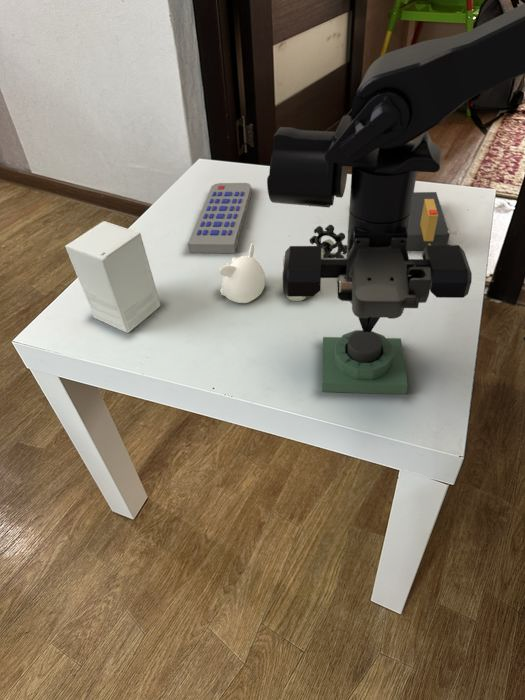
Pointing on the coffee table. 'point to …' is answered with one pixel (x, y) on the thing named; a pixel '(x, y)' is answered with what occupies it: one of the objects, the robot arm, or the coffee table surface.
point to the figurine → (242, 278)
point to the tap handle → (429, 219)
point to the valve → (325, 247)
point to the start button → (364, 346)
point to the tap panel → (414, 228)
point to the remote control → (221, 219)
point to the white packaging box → (115, 275)
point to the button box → (363, 368)
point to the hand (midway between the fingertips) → (366, 329)
